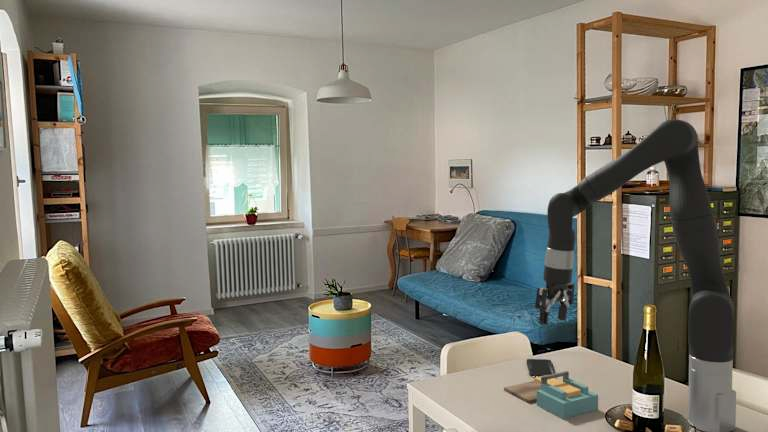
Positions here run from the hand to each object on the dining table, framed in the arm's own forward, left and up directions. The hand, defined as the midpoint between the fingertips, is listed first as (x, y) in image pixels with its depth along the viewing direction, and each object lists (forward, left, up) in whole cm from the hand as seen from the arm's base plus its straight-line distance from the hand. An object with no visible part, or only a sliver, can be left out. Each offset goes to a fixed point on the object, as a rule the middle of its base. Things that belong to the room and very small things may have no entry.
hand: (552, 321), depth 164 cm
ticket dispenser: (-9, +3, -21) cm, 23 cm away
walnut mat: (+4, +3, -21) cm, 21 cm away
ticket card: (-5, +3, -17) cm, 18 cm away
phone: (+18, -11, -21) cm, 30 cm away
